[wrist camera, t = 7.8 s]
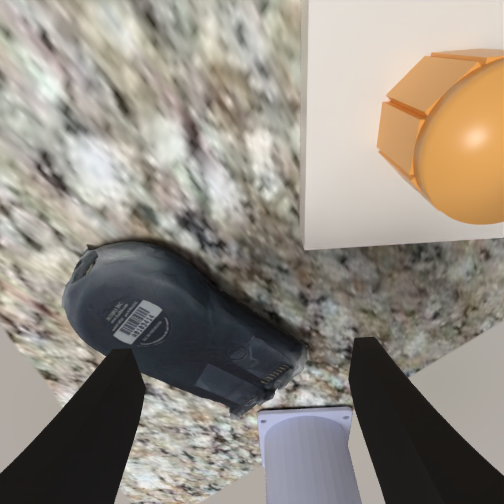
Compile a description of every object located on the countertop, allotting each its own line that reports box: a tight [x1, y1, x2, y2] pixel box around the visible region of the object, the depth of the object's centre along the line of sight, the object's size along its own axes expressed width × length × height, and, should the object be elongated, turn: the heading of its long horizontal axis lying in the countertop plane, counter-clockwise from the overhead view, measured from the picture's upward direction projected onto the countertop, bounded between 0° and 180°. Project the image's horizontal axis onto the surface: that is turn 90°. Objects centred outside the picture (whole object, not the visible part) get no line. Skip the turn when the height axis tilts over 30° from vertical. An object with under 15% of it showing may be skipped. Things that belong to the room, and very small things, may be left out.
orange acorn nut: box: [377, 49, 504, 225], centre depth 12 cm, size 5×5×4 cm
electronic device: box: [62, 241, 308, 420], centre depth 22 cm, size 9×6×15 cm
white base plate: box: [299, 0, 504, 250], centre depth 13 cm, size 12×11×5 cm
